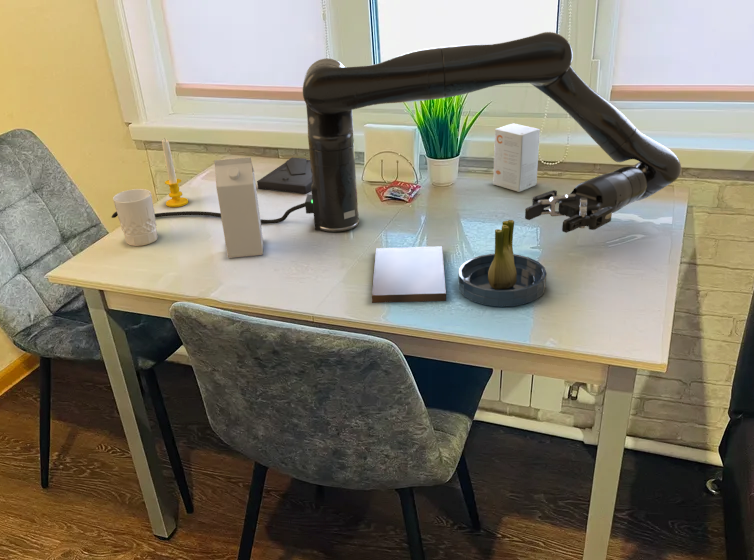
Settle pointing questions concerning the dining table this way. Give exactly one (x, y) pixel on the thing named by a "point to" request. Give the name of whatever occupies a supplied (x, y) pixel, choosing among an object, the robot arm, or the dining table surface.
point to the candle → (172, 179)
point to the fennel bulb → (503, 259)
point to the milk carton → (239, 207)
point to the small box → (516, 157)
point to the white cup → (136, 216)
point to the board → (409, 275)
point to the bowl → (480, 291)
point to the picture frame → (289, 177)
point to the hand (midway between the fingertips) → (545, 220)
